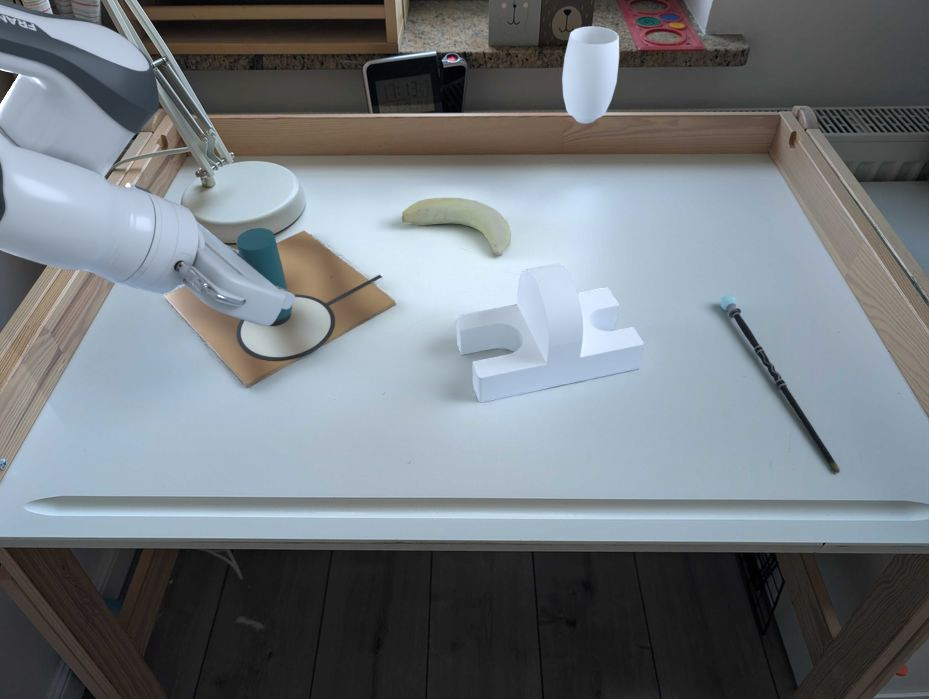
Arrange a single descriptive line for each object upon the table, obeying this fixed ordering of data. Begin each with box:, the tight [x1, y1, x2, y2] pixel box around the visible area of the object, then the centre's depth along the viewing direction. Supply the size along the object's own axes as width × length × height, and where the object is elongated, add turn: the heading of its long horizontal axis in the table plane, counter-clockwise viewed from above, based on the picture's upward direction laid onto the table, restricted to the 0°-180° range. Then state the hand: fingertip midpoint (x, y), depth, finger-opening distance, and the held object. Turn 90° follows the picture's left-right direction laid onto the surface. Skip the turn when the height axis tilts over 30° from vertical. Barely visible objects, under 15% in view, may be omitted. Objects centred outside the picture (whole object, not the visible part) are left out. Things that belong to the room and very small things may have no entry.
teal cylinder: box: [235, 227, 292, 326], centre depth 80 cm, size 4×4×11 cm
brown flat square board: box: [163, 230, 396, 389], centre depth 86 cm, size 22×21×1 cm
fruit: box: [401, 197, 512, 257], centre depth 95 cm, size 7×15×3 cm, turn 61°
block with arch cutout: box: [455, 263, 646, 403], centre depth 75 cm, size 18×10×11 cm, turn 105°
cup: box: [561, 25, 620, 124], centre depth 98 cm, size 7×7×21 cm
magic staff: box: [719, 294, 840, 474], centre depth 76 cm, size 2×25×2 cm
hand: (265, 280), depth 79 cm, fingers open, 8 cm apart
